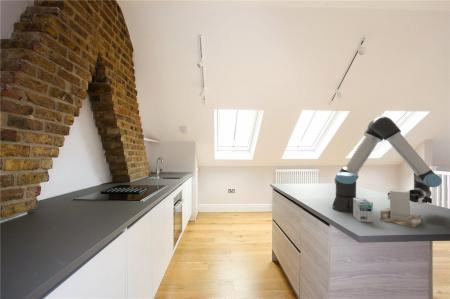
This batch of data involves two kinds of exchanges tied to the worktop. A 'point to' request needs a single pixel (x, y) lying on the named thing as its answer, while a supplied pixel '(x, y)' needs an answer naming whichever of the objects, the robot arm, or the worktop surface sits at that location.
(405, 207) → the skincare box
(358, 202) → the light bulb box
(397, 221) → the tan piece
